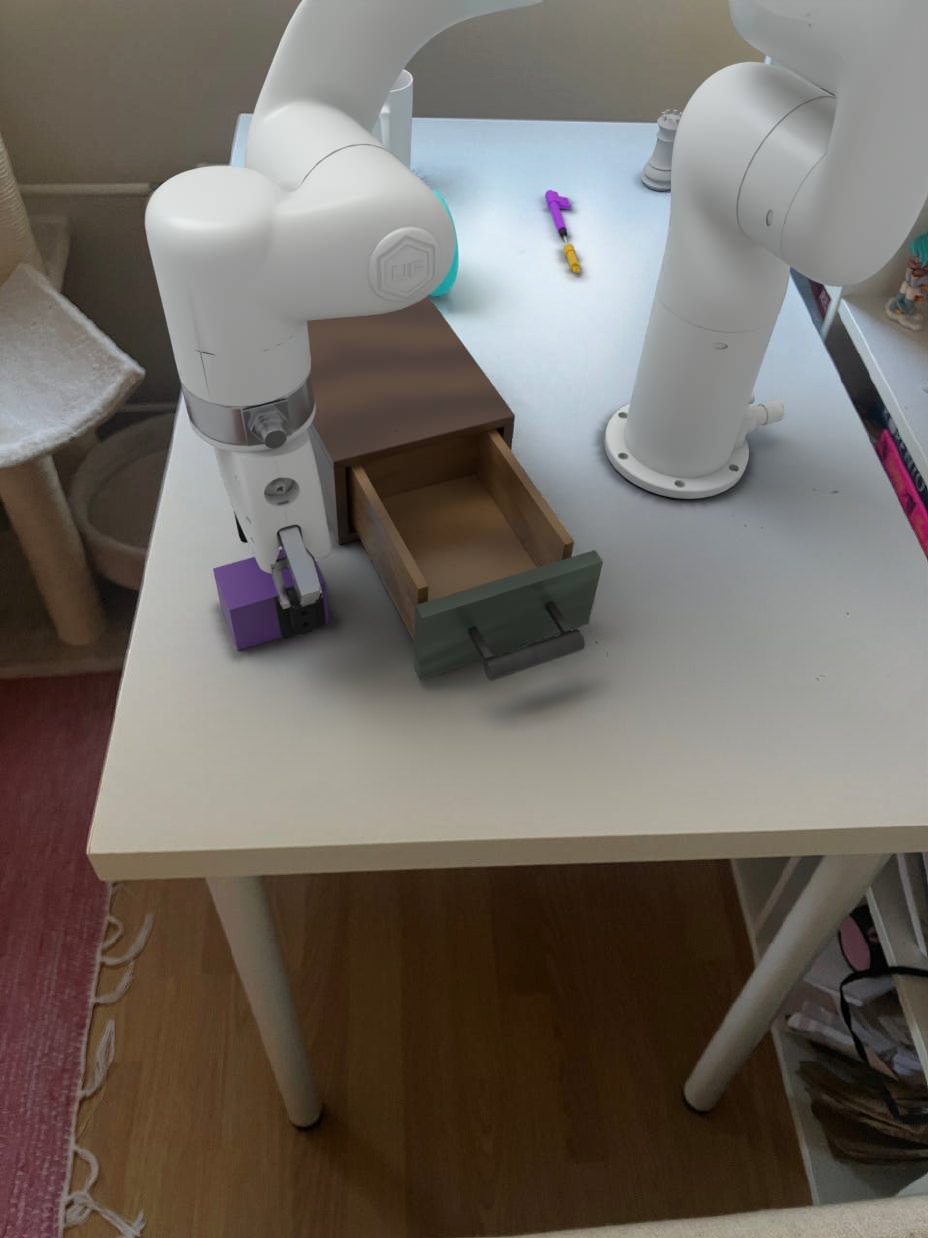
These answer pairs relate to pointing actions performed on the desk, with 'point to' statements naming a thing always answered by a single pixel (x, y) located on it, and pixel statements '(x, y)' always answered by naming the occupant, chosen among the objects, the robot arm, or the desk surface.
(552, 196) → the purple and yellow tool
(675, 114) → the rook chess piece
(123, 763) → the desk surface
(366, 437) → the desk cabinet
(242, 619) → the purple block
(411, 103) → the mug
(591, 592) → the drawer
